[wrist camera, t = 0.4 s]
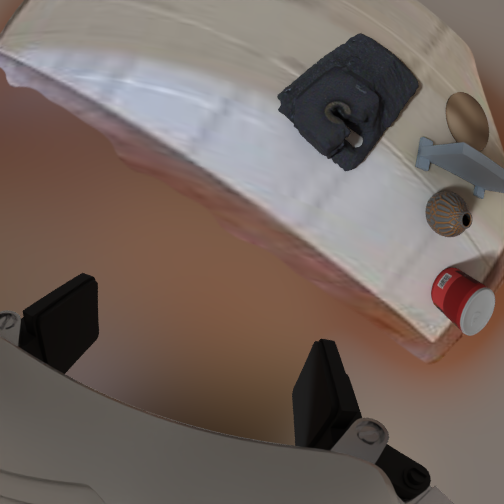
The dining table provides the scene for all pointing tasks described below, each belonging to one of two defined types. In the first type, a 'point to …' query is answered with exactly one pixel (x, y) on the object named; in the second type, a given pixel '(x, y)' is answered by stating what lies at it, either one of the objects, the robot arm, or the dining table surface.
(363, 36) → the dark slate chunk
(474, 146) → the coaster
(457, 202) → the vase
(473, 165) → the screen
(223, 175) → the dining table surface
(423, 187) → the dining table surface
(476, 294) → the canned food
